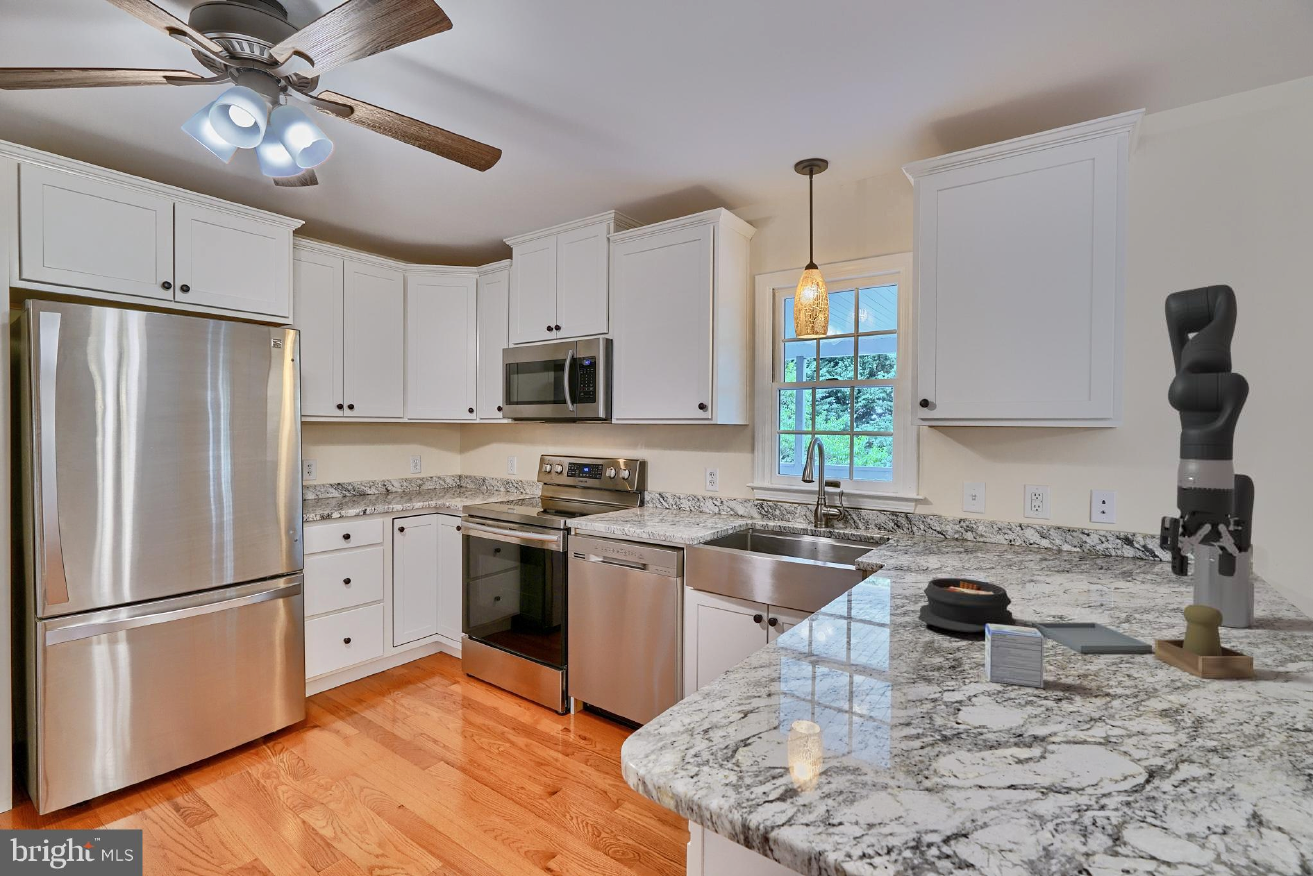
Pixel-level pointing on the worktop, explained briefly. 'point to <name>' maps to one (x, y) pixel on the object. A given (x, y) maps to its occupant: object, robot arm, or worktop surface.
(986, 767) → the worktop surface
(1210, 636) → the cork
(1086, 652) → the tray
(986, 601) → the casserole
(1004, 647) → the medicine box
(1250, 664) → the holder
